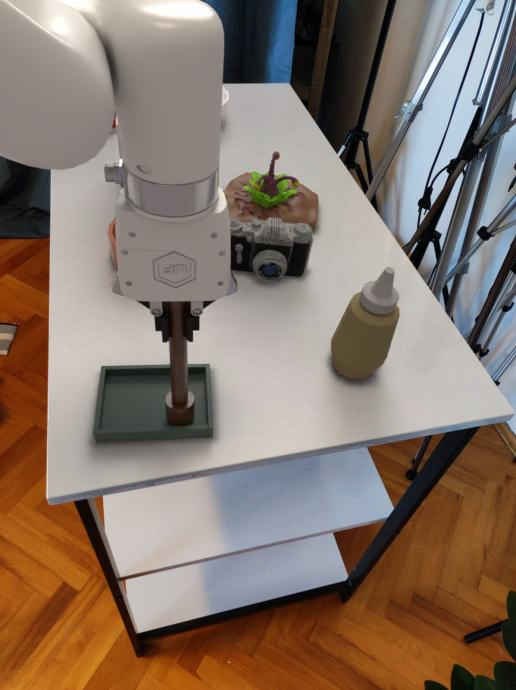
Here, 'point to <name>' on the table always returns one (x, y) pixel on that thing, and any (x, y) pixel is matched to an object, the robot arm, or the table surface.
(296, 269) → the camera
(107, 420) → the spoon tray
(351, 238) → the table surface
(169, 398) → the brown wooden rod
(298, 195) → the plant
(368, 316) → the squeeze bottle
